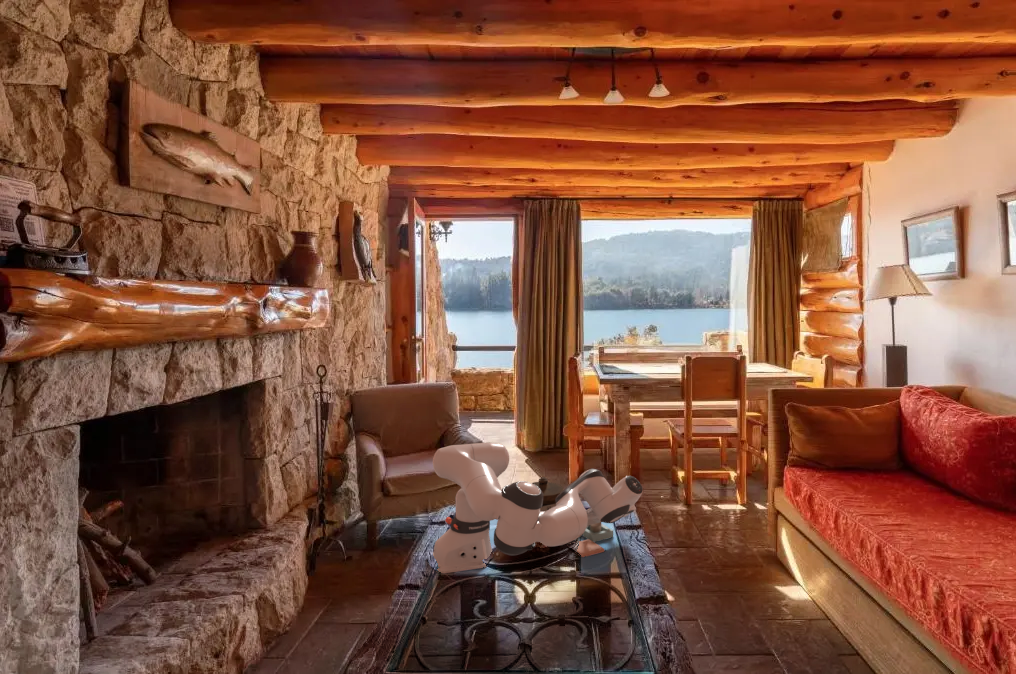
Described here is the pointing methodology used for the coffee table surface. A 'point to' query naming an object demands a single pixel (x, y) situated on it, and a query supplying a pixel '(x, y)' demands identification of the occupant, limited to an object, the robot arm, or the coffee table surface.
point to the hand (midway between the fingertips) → (596, 523)
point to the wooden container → (548, 493)
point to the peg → (595, 527)
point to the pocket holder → (598, 534)
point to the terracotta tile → (588, 548)
